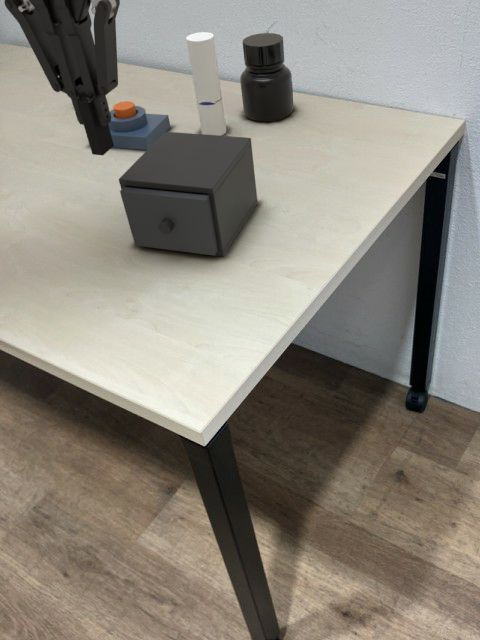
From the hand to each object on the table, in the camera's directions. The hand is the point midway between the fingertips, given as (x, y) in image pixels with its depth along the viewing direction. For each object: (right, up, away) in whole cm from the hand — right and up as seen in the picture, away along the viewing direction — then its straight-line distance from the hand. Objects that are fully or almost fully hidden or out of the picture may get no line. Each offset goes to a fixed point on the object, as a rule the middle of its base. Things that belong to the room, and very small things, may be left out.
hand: (103, 149), depth 75 cm
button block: (-4, +14, +31) cm, 34 cm away
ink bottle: (+20, +19, +34) cm, 44 cm away
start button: (-4, +16, +28) cm, 33 cm away
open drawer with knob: (+10, -8, +7) cm, 14 cm away
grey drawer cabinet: (+11, -7, +9) cm, 16 cm away
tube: (+10, +14, +30) cm, 35 cm away
